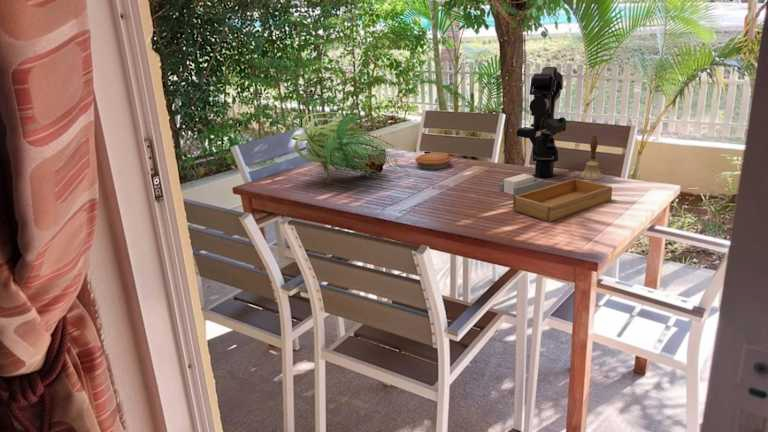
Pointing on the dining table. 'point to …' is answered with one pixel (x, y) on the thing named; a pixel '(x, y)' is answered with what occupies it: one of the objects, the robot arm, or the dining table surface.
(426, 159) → the pie
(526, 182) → the block
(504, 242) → the dining table surface
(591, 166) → the hand bell
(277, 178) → the dining table surface
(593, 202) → the tray
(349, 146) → the plant
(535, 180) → the holder
